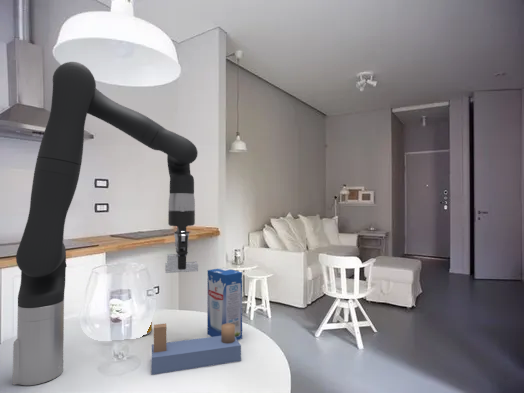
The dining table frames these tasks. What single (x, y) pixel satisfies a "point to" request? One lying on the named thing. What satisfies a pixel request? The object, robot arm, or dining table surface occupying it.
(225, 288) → the milk carton
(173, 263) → the lever cap
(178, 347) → the hand plane
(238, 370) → the dining table surface
